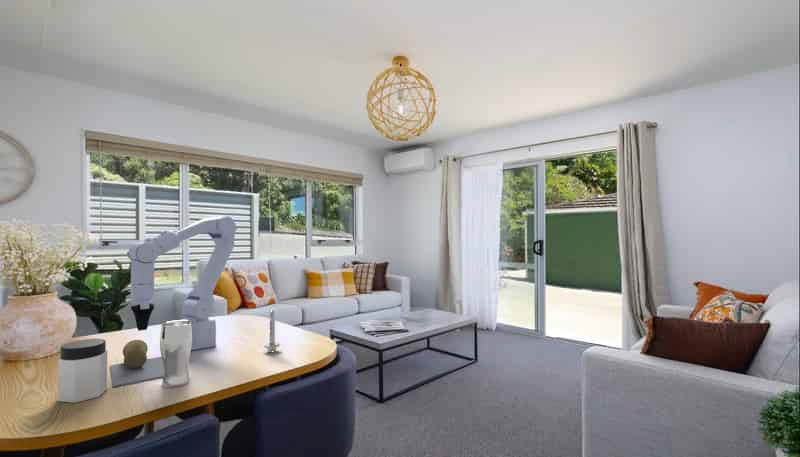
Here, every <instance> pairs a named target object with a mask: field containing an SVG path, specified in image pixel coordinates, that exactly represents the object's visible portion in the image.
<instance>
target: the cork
mask: <svg viewBox="0 0 800 457" xmlns="http://www.w3.org/2000/svg"><path fill="white" fill-rule="evenodd" d="M147 352H148V345H147V343H146V342H145V341H144V340H141V339H133V340H130V341H128V342H127V343H126V344H125V345H124V347H123V348H122V354H123V357H124V358H123V363H124V364H125V366H126V367H128V368H130V369H137V368H139V367H141V366H142V365H143V364H144V363H145V362H146V359H148V357H147Z"/></svg>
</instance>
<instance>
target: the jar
mask: <svg viewBox="0 0 800 457" xmlns="http://www.w3.org/2000/svg"><path fill="white" fill-rule="evenodd" d="M106 343H107V341H106V339H103V338H85V339H78V340H74V341H70V342H66V343H64V344H62V345H61V346H60V350H59V351H60V354H59V355H60V357H59V359H57V401H58V402H59V403H60V402H62V403H71V404H77V403H79V402H80V403H81V402H84V401H88V400H92V399H95V398H100V397H101V395H102V394H104V392H105V391H106V390H107V389H108V349H106V348H107V344H106Z"/></svg>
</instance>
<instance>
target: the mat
mask: <svg viewBox="0 0 800 457" xmlns="http://www.w3.org/2000/svg"><path fill="white" fill-rule="evenodd" d="M109 368H110V377H111V385H112V388H119V387H124V386H128V385H134V384H137V383H139V384H140V383H143V382H144V383H145V382H149V381H152V380H154V381H155V380H158V379H163V376H164V367H163V361H162V356H157V357H152V358H151V357H150V358H147V359H146V362H145V363H144V364H143V365H142V366H141V367H139V368H137V369H130V368H128V367H126V366H125V364H124V362H122V363H116V364H110V365H109Z"/></svg>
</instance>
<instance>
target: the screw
mask: <svg viewBox="0 0 800 457" xmlns="http://www.w3.org/2000/svg"><path fill="white" fill-rule="evenodd" d="M275 320H276V319H275V311H274V310H271V311H270V312H269V325H268V327H269V328H268V329H269V333H268V334H269V338H268V339H269V341H268V342H266V343H264V345H263V348H265V349H266V352H267V351H268V352H267V353H269V352H272V351H276V350H277V349H278V347H280V346H281V343H280V342H278V341H276V336H275V335H276V321H275ZM277 351H278V350H277ZM277 351H276V352H277Z"/></svg>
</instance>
